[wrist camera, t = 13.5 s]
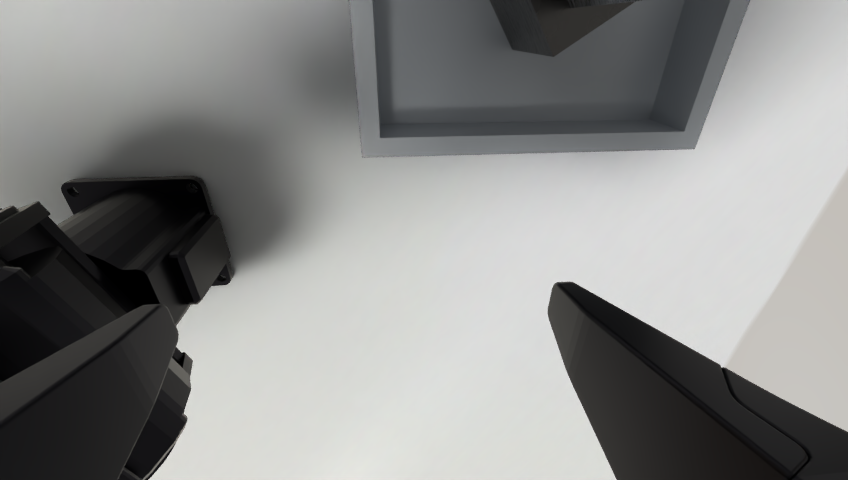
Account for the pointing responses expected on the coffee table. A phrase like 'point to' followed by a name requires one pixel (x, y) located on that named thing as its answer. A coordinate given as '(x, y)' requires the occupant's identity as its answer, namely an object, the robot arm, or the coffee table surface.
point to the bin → (535, 79)
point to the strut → (552, 22)
